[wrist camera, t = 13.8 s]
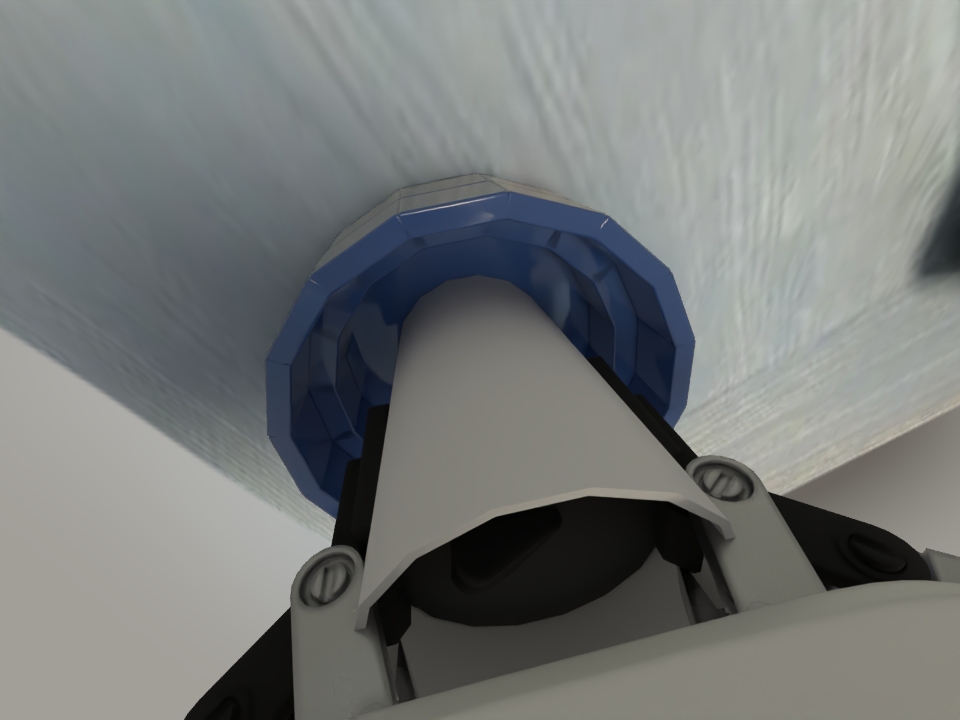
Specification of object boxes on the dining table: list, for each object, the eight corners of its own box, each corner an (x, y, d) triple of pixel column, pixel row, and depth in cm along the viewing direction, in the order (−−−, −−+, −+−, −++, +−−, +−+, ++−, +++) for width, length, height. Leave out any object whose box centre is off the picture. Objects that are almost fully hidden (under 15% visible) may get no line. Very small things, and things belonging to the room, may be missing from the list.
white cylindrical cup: (391, 420, 16) (368, 737, 8) (379, 261, 13) (317, 509, 4) (545, 412, 17) (675, 685, 9) (570, 263, 14) (816, 469, 6)
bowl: (254, 389, 15) (195, 489, 11) (419, 83, 11) (426, 54, 7) (500, 488, 20) (524, 583, 16) (675, 297, 16) (770, 357, 12)
